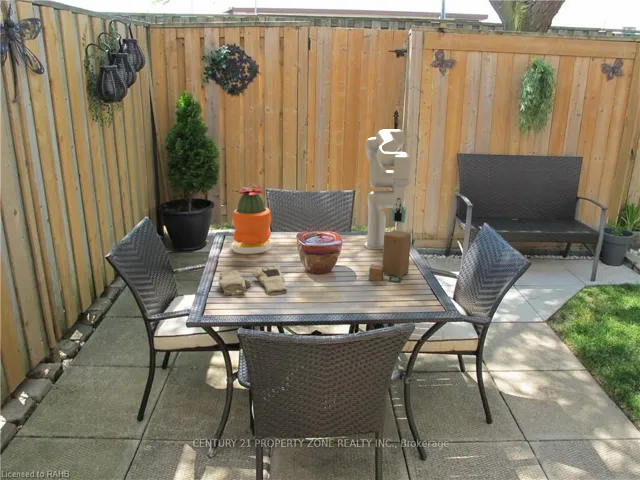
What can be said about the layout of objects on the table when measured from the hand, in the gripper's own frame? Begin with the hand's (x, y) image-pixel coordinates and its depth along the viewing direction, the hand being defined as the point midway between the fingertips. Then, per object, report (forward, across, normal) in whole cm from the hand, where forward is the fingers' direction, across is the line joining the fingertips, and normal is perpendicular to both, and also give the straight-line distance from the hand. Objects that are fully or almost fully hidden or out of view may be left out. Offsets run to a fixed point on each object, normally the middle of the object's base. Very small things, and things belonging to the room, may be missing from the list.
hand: (398, 218), depth 255 cm
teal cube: (+1, 0, 0) cm, 1 cm away
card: (+27, +10, +1) cm, 29 cm away
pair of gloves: (+28, +33, -62) cm, 75 cm away
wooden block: (+27, 0, 0) cm, 27 cm away
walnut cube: (+27, +10, -8) cm, 30 cm away
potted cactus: (+27, -12, -78) cm, 84 cm away
